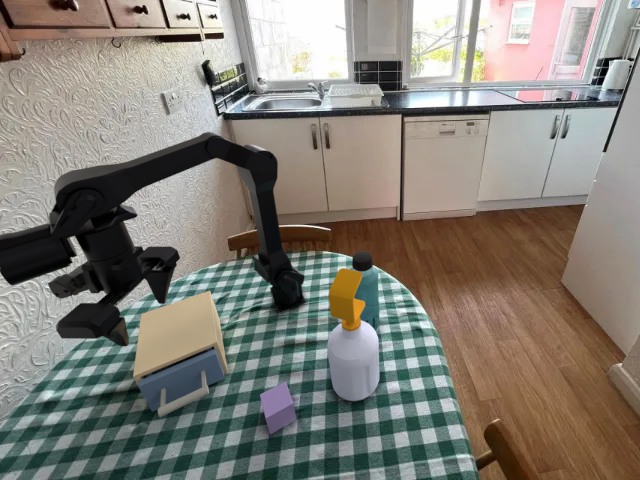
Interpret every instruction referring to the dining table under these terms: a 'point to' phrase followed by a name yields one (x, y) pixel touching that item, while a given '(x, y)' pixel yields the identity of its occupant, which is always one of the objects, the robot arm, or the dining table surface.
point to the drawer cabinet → (178, 334)
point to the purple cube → (278, 407)
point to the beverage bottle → (367, 287)
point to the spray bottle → (351, 341)
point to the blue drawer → (181, 381)
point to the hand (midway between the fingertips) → (145, 322)
